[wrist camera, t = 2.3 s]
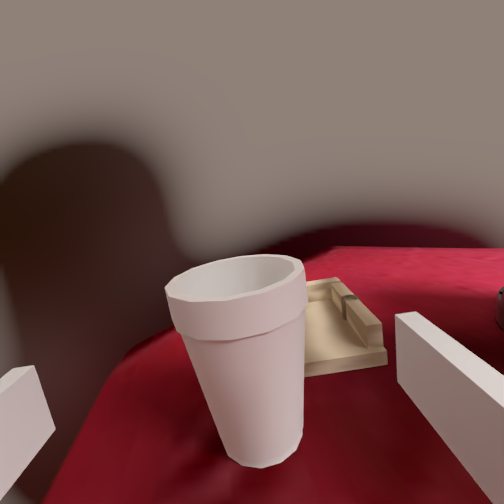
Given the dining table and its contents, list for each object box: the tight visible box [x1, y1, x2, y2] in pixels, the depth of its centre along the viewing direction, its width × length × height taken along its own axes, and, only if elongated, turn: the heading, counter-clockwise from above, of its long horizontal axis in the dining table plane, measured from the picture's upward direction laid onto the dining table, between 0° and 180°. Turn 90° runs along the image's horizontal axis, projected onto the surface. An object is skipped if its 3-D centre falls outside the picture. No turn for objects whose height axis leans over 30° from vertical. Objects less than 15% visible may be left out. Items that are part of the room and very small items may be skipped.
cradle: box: [304, 277, 388, 377], centre depth 36 cm, size 16×15×4 cm
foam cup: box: [165, 254, 308, 468], centre depth 22 cm, size 10×9×13 cm
